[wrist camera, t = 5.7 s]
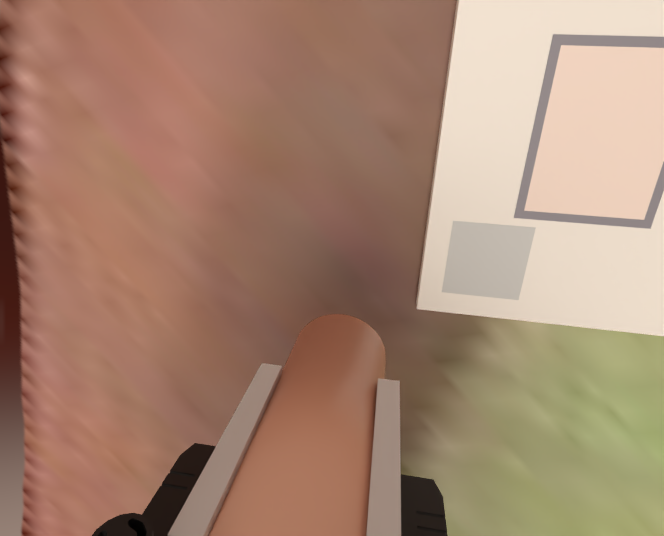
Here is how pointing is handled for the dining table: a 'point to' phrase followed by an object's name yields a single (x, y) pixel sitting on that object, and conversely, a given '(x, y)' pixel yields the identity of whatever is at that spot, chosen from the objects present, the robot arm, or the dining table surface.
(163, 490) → the robot arm
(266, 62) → the dining table surface
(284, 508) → the marker
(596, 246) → the board
